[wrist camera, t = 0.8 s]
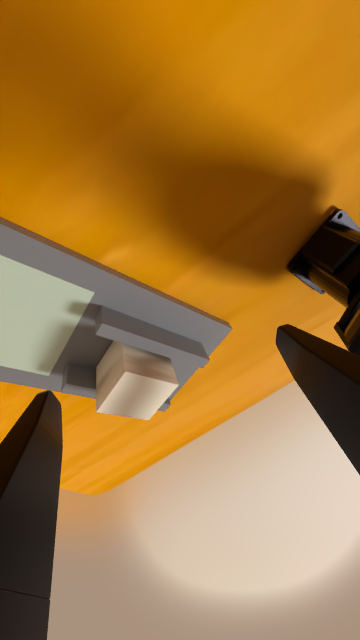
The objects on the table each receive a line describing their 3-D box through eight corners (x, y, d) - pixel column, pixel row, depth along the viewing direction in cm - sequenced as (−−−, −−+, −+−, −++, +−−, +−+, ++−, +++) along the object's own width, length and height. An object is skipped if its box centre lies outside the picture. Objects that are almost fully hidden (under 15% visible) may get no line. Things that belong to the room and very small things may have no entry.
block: (166, 345, 26) (178, 385, 22) (141, 378, 28) (148, 420, 24) (120, 330, 23) (125, 371, 19) (96, 367, 25) (96, 412, 21)
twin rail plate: (228, 323, 28) (243, 344, 25) (159, 403, 33) (165, 428, 30) (-33, 202, 16) (-58, 218, 13) (-74, 357, 21) (-98, 391, 19)
